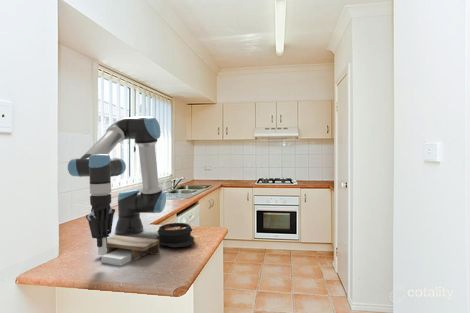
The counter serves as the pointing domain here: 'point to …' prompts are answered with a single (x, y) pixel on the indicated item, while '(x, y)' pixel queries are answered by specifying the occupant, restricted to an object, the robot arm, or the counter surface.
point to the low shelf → (133, 245)
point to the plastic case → (118, 257)
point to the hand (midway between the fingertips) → (102, 254)
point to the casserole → (175, 235)
